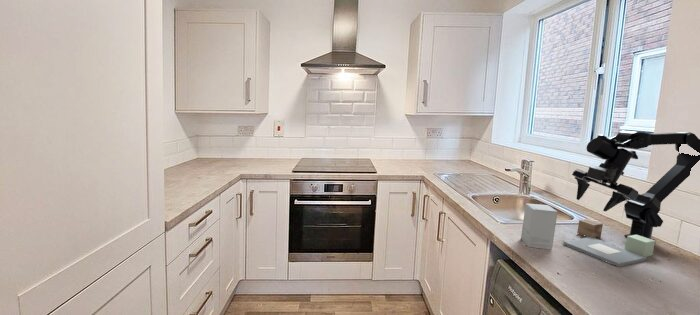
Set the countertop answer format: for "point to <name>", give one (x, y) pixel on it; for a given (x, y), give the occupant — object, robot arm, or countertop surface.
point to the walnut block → (590, 228)
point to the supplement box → (539, 226)
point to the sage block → (640, 245)
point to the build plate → (605, 251)
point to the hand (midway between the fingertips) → (590, 205)
